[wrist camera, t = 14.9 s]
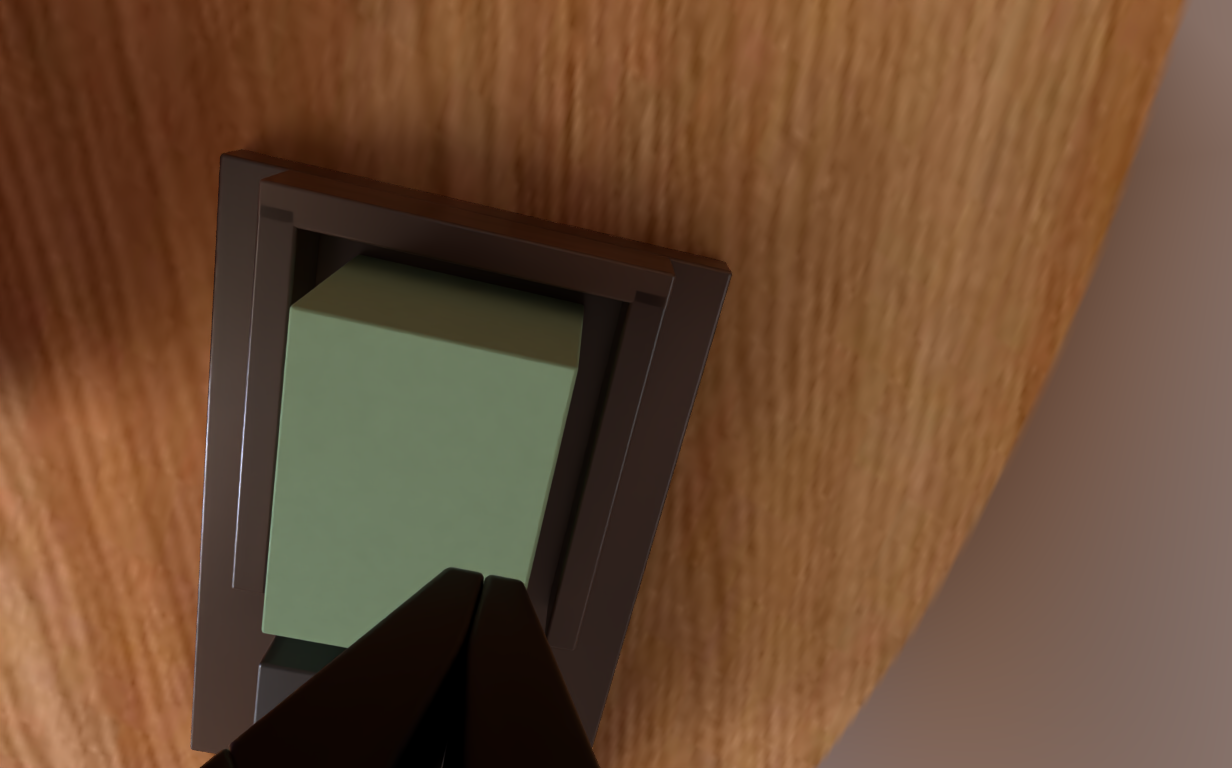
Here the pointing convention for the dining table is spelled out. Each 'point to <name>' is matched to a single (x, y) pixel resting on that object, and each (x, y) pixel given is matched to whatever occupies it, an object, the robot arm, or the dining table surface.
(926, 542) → the dining table surface
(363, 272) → the pad
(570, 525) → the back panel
